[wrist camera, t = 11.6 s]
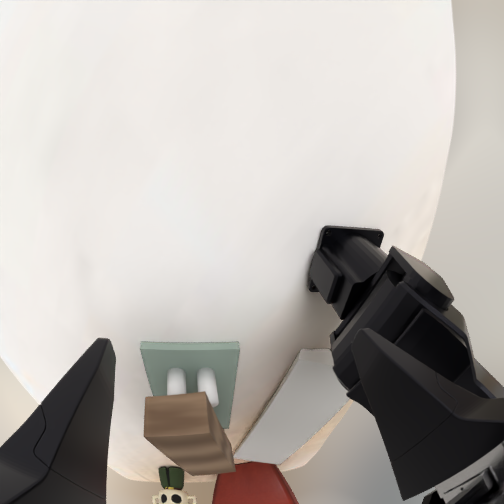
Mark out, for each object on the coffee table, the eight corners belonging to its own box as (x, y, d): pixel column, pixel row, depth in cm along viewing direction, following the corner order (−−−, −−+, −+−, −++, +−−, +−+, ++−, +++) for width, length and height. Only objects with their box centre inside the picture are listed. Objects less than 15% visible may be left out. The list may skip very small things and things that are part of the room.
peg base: (238, 341, 27) (246, 380, 23) (227, 423, 36) (232, 450, 32) (141, 341, 25) (136, 381, 21) (164, 424, 34) (164, 451, 30)
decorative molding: (235, 438, 47) (280, 446, 48) (232, 457, 43) (279, 464, 43) (297, 331, 32) (365, 345, 33) (298, 359, 28) (373, 371, 28)
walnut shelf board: (230, 444, 31) (235, 471, 27) (189, 448, 30) (192, 475, 26) (205, 391, 23) (209, 432, 19) (145, 396, 22) (143, 436, 18)
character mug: (188, 464, 46) (194, 512, 35) (196, 470, 50) (202, 514, 39) (145, 464, 45) (147, 510, 34) (155, 471, 48) (158, 513, 37)
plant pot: (224, 478, 57) (233, 526, 43) (200, 465, 48) (209, 526, 33) (288, 465, 58) (303, 513, 44) (281, 450, 49) (299, 512, 34)
